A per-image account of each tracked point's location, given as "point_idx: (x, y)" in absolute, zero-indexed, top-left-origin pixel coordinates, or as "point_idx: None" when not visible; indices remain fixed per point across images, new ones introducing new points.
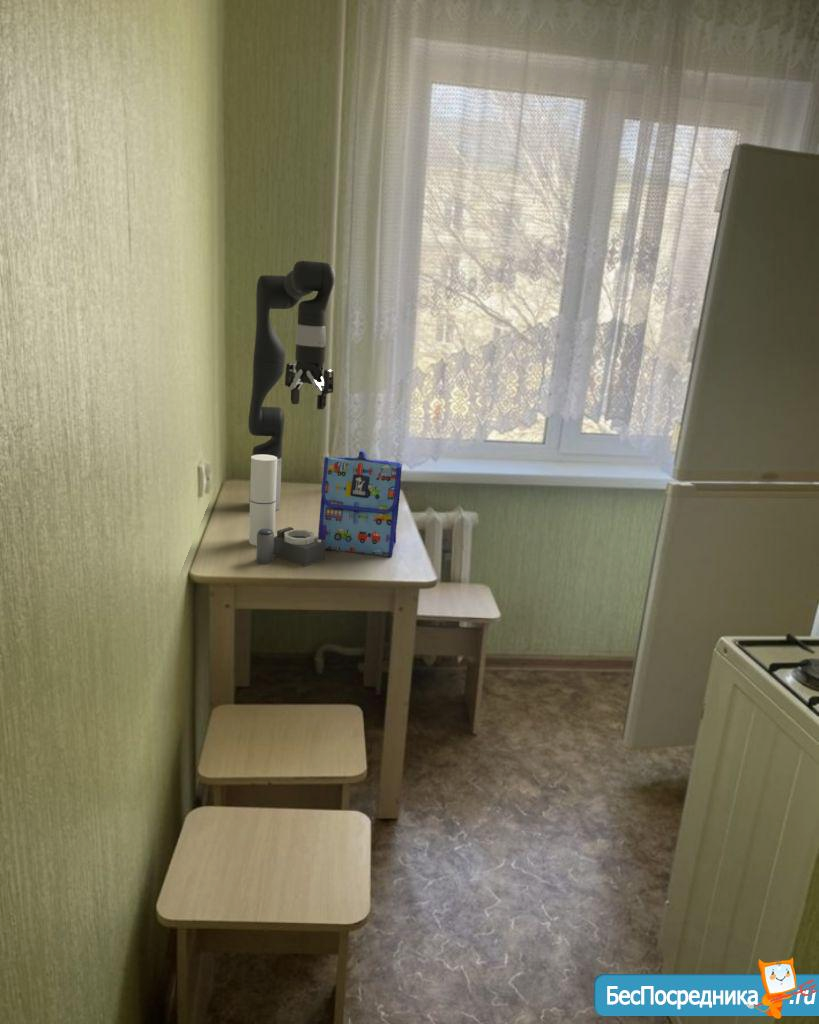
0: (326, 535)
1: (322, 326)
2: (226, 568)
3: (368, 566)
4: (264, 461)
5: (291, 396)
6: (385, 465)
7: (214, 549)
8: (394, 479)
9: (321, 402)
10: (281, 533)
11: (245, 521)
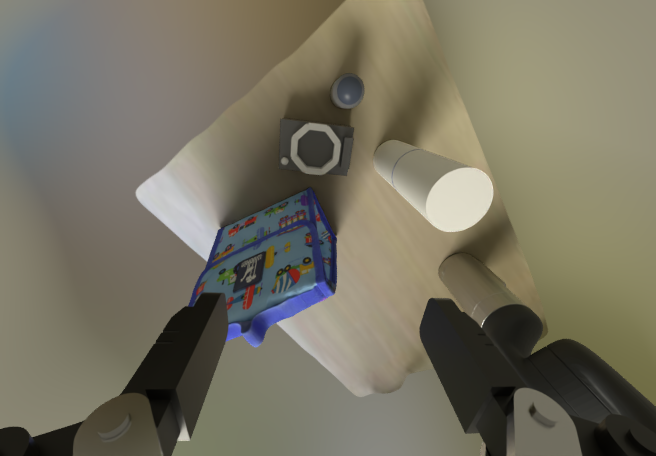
0: (299, 198)
1: None
2: (371, 18)
3: (218, 180)
4: (442, 175)
5: (485, 341)
6: None
7: (433, 81)
8: None
9: (168, 337)
10: (344, 138)
11: None
